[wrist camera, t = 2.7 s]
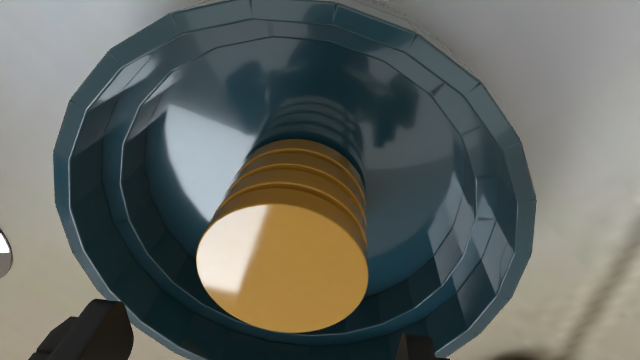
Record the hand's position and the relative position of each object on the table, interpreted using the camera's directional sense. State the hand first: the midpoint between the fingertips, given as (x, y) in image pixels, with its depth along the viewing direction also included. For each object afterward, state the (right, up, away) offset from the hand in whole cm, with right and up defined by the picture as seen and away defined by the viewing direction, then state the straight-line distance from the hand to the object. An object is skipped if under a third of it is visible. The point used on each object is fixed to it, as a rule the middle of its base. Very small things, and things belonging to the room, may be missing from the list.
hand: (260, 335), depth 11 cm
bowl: (+1, +4, +7) cm, 8 cm away
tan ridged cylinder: (+1, +4, +7) cm, 8 cm away
